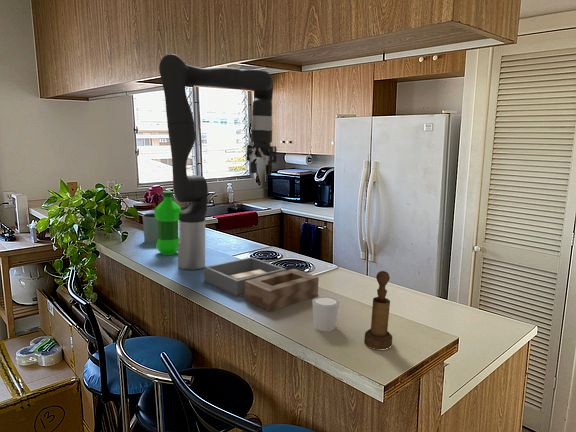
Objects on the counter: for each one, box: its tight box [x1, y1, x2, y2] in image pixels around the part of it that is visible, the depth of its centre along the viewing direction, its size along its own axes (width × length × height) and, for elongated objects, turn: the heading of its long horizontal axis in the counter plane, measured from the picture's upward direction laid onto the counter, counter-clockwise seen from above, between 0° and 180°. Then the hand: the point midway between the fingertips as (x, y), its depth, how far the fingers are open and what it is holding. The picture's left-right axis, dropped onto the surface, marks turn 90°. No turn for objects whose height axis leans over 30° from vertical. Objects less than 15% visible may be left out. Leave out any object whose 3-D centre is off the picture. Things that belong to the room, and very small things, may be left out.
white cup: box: [312, 296, 340, 332], centre depth 114 cm, size 7×7×7 cm
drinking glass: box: [141, 212, 158, 245], centre depth 196 cm, size 10×10×12 cm
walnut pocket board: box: [243, 268, 320, 312], centre depth 133 cm, size 20×11×6 cm, turn 133°
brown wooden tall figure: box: [363, 270, 393, 350], centre depth 104 cm, size 7×6×18 cm
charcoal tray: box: [203, 256, 287, 298], centre depth 146 cm, size 20×18×5 cm
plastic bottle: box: [153, 190, 182, 256], centre depth 176 cm, size 10×10×25 cm
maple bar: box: [230, 270, 267, 280], centre depth 146 cm, size 12×4×2 cm, turn 129°
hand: (260, 174), depth 162 cm, fingers open, 8 cm apart
